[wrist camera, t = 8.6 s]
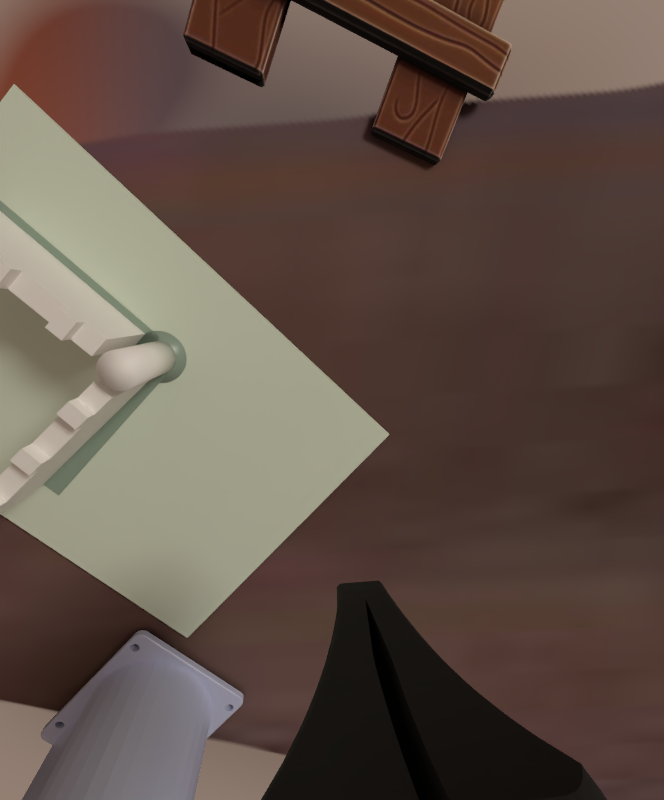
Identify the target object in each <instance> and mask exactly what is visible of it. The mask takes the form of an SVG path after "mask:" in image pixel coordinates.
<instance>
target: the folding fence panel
mask: <svg viewBox="0 0 664 800" xmlns="http://www.w3.org/2000/svg"><path fill="white" fill-rule="evenodd" d="M147 382H148V381H147ZM147 382H144V383H142V384H140V385H138V386H136V387H134V388H131V389H129V390H126V391H114V390H111V389H109V388H107V387H106V386H105V385H103V384H102V382H101V381H100V380H97V381H94V382H93V383H92V384H91V385H90V386H89V387H88V388H87V389H86V390H85V391H84V392H83V393H82V394H81V395H80V396H79V397H78V398H76V399H73V400H71V401H68V402H67V403H66V404H65V405H64V406H63V407H62V408H61V409H60V410H59V411H58V412H57V413H56V414H57V415H58V416H59V417H58V418H57V419H56V420H55V421H54V422H53V423H52V424H51V425H50V426H49V427H48V428H47V429H46V430H45V431H44V432H43V433H42V434H41V435H40V436H39V437H38V438H37V439H36V440H35V441H34V442H33V443H32V444H30V445H28V446H26V447H24V448H22V449H21V450H20V451H19V452H18V453H17V454H16V455H15V456H14V457H13V458H12V459H11V460H10V461H11V462H12V464H11V465H10V466H9V467H8V468H7V469H6V470H5V471H4V472H3V473H2V474H1V475H0V514H1V513H3V512H4V511H6V510H7V509H9V508H10V507H12V506H13V505H15V504H16V503H18V502H19V501H21V500H22V499H24V498H25V497H26V496H28V495H29V494H31V493H32V492H34V491H35V490H37V489H38V488H40V487H41V486H42V485H43V484H44V483H45V482H46V481H48V480H49V479H50V478H51V477H52V476H53V475H54V474H55V473H56V472H57V471H58V470H59V469H60V468H61V467H62V466H63V465H64V464H65V463H66V462H67V461H68V460H69V459H70V458H71V457H72V456H73V455H74V454H75V453H76V452H77V451H78V450H79V449H80V448H81V447H82V446H83V445H84V444H85V443H86V442H87V441H88V440H89V439H90V438H91V437H92V436H93V435H94V434H95V433H96V432H97V431H98V430H99V429H100V428H101V427H102V426H103V425H104V424H105V423H106V422H107V421H108V420H109V419H110V418H112V417H113V416H114V415H115V414H116V413H117V412H118V411H119V410H120V409H121V408H122V407H123V406H124V405H125V404H126V403H127V402H128V401H129V400H130V399H131V398H132V397H133V396H134V395H135V394H136V393H137V392H138V391H139V390H140V389H141V388H142V387H143V386H144V385H145V384H146V383H147Z"/></svg>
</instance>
